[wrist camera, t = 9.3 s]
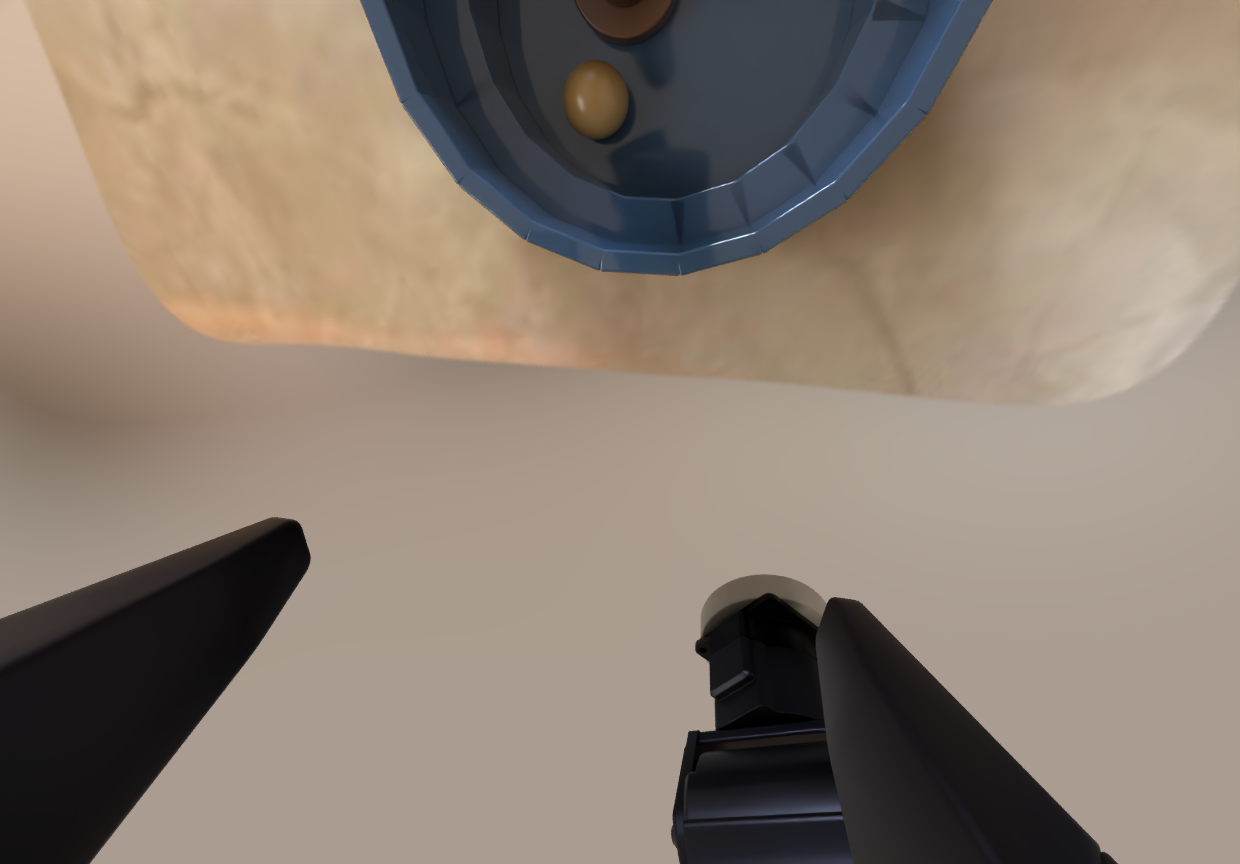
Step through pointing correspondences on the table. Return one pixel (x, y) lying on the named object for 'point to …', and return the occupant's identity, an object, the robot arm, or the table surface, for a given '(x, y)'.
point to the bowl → (671, 116)
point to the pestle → (626, 18)
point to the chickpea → (595, 99)
